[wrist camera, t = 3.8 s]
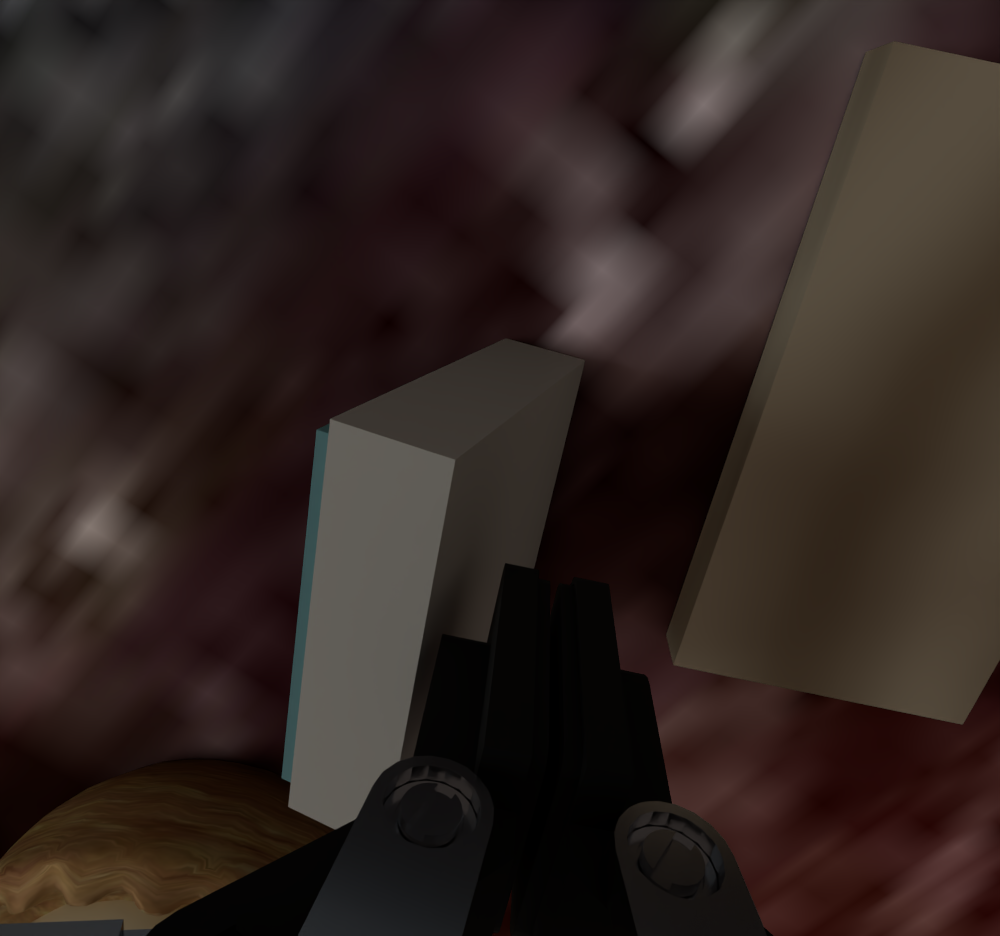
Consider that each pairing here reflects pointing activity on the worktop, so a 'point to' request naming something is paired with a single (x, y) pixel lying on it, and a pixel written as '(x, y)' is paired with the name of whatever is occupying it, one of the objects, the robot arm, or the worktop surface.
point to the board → (873, 420)
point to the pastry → (151, 843)
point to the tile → (413, 554)
